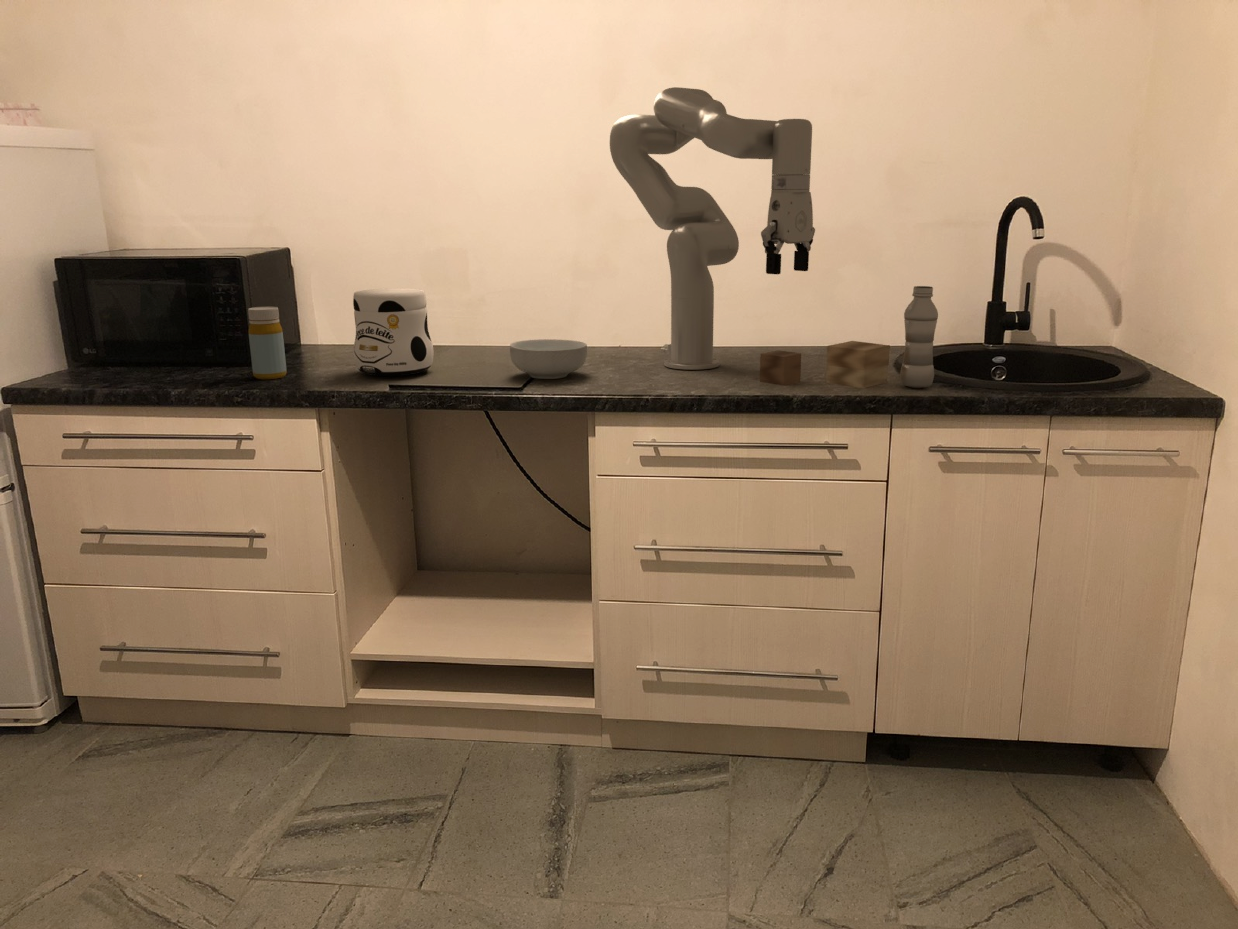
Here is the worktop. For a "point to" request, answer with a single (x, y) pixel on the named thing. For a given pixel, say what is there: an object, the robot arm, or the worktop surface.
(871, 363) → the tower top
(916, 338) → the plastic bottle
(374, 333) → the doce de leite jar
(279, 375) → the bottle
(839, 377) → the tower base
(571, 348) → the cereal bowl
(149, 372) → the worktop surface
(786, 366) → the walnut cube
